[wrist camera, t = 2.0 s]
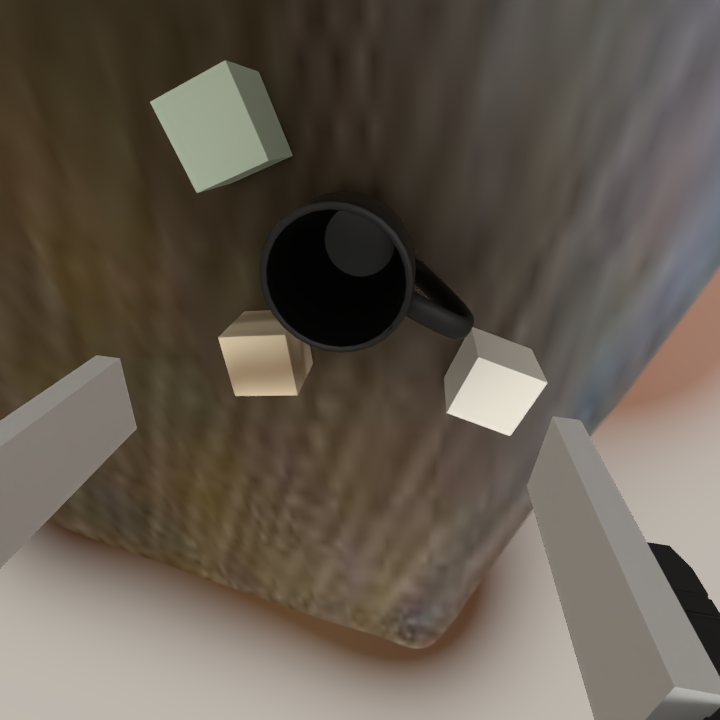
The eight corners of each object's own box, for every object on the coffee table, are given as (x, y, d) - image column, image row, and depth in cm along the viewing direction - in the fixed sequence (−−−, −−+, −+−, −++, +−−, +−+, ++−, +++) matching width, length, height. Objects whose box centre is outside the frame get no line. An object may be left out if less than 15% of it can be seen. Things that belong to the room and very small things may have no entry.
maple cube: (244, 310, 34) (218, 337, 30) (303, 308, 33) (284, 334, 29) (258, 364, 36) (235, 395, 32) (313, 362, 35) (297, 395, 31)
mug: (431, 332, 32) (433, 401, 24) (289, 267, 32) (241, 316, 23) (488, 235, 28) (513, 278, 20) (327, 157, 27) (285, 169, 19)
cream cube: (471, 326, 32) (478, 356, 28) (531, 348, 32) (547, 382, 28) (443, 377, 34) (446, 412, 30) (499, 397, 35) (510, 436, 30)
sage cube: (193, 106, 27) (149, 102, 23) (259, 71, 26) (225, 60, 21) (230, 183, 29) (196, 193, 25) (293, 155, 28) (268, 160, 23)
